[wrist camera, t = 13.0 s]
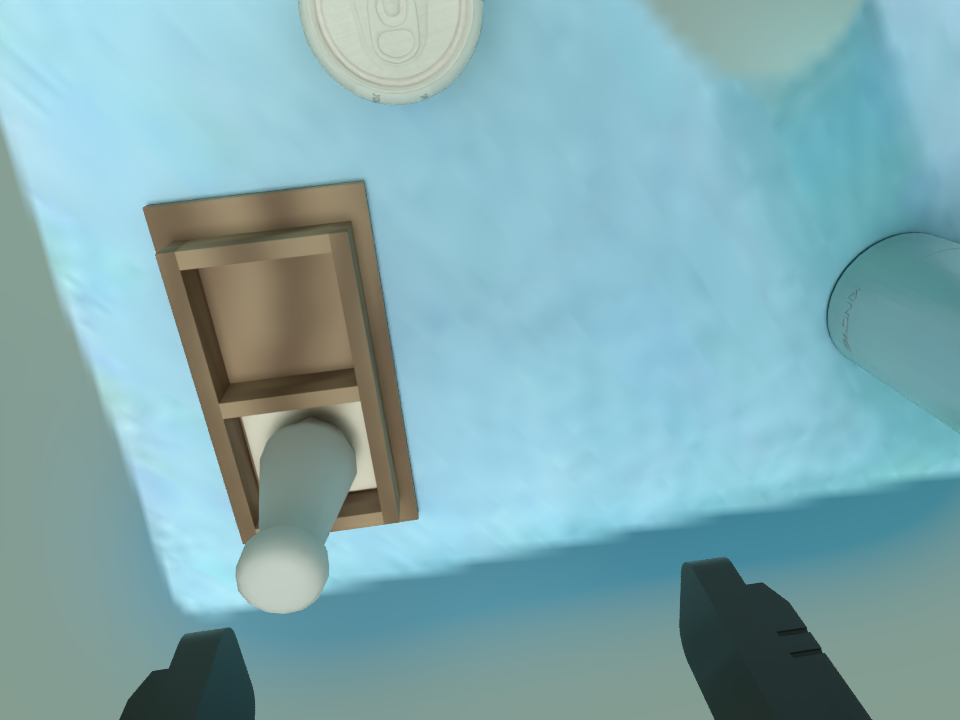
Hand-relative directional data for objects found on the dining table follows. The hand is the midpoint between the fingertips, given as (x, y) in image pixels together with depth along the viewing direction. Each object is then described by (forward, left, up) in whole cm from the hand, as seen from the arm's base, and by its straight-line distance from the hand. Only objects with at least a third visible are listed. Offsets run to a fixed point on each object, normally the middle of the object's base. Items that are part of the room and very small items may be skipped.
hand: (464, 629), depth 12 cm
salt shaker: (+9, +12, -29) cm, 33 cm away
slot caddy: (+9, +8, -30) cm, 32 cm away
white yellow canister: (0, -11, -30) cm, 32 cm away
